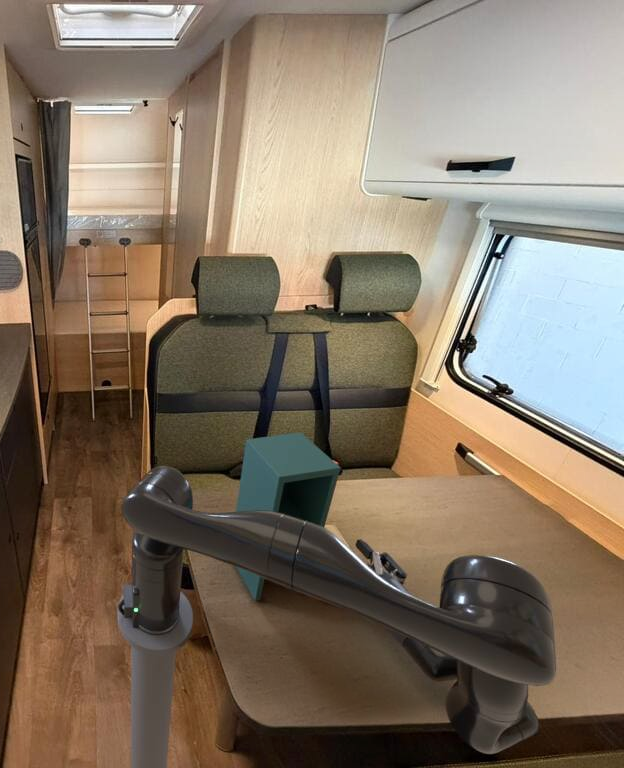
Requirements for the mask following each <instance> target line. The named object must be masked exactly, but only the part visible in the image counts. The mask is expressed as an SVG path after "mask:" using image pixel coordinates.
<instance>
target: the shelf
mask: <svg viewBox="0 0 624 768" xmlns="http://www.w3.org/2000/svg"><path fill="white" fill-rule="evenodd" d="M340 472H341V466H340V465H338V464H337V463H336V462H335V461H334V460H333V459H331V458H330V457H329V456H328V455H327V454H326V453H325V452H324V451H323V450H321V449H320V448H319V447H318V446H317V445H316V444H315V443H313V441H311V440H310V439H309V438H308V437H307V436H306V435H305V434H304V433H302V432H295V433H294V432H292V433H286V434H278V435H271V436H263V437H256V438H255V437H254V438H249V439H246V441H245V447H244V453H243V461H242V466H241V474H240V481H239V487H238V494H237V502H236V507H235V508H236V509H235V512H239V511H251V510H268V511H275V512H279V513H283V514H287V515H290V516H293V517H296V518H300V519H303V520H306V521H310V522H313V523H315V524H318V525H320V526H323V527H325V525H326V522H327V519H328V515H329V511H330V508H331V505H332V502H333V501H332V500H333V497H334V494H335V489H336V486H337V483H338V479H339V475H340ZM235 568H236V570H237V571H238V573H239V575H240V577H241V579H242V580H243V582H244V584H245V586H246V587H247V589H248V591H249V593H250V594H251V596H252V597H253V598H252V599H253V600H254V602H258V601H261V599H262V594H263V588H264V585H265V580H266V579H265V578H263V577H260V576H258V575H256V574H254V573H251V572H249V571H246V570H244V569H241V568H239V567H236V566H235Z"/></svg>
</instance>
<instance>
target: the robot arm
mask: <svg viewBox="0 0 624 768" xmlns="http://www.w3.org/2000/svg"><path fill="white" fill-rule="evenodd" d="M193 495H194V494H193V489H192V486H191V484H190V483H189V480H188V479H187V477H186V476H185V475H184V474H183V473H182V472H181V471H180V470H178V469H176V468H174V467H173V466H172V467H171V466H169V465H158V466H154V467H153V468H151V469H150V470H149V471H148V472H147V473H146V474H145V475H143V477H142V478H140V480H139V481H137V482H136V483H135V485H134V486H132V488H131V489H129V491H128V492H127V493H126V495H125V496H124V498H123V500H122V502H121V507H120V508H121V509H120V510H121V514H122V517H123V519H124V521H126V523H127V524H128V526H129V527H131V529H133V530H134V531H133V535H132V539H131V567H130V584H123V585H122V586H123V590H122V591H123V594H122V596H124V599H123V600H122V601H121V602H120V601H119V602H120V603H119V602H118V604H117V605H118V606H117V610H118V609H119V611H120V612H121V613H122V615H125V618H132V623H133V628H139V629H141V630H142V631H143V632H145V633H148V634H151V635H163V634H166V633H168V632H170V631H171V630H173V629H174V628H175V626H176V625H177V623H178V620H179V608H180V606H179V604H180V601H181V599H180V591H181V590H182V577H183V576H182V575H183V563H184V554H185V553H184V552H185V550H187V551H189V552H192V553H193V552H194V553H197V554H200V555H203V556H206V557H209V558H210V559H211V558H212V559H214V560H218V561H220V562H223V563H225V564H227V565H231V566H232V567H233V566H234V567H235V568H236V567H239V568H241V569H244V570H246V571H249V572H251V573H254V574H256V575H258V576H260V577H263V578H265V579H264V580H267V581H269V582H272V583H274V584H276V585H280V586H282V587H284V588H287V589H289V590H292V591H294V592H297V593H299V594H303V595H306V596H308V597H311V598H314V599H317V600H320V601H322V602H325V603H328V604H330V605H333V606H335V607H338V608H340V609H342V610H345V611H348V612H351V613H353V614H355V615H357V616H360V617H362V618H365V619H368V620H369V621H372V622H374V623H376V624H379V625H380V626H383V627H384V629H385V630H386V631H387V632H388V633H389V635H391V637H392V638H393V639H394V640H395V641H396V642H397V643H398V644H399V645H400V646H401V647H402V648H403V649H404V651H405V652H406V653H407V654H408V655H409V656H410V658H411V659H412V660H413V661H414V663H415V664H416V665H417V666H418V667H419V669H420V670H421V671H422V672H423V673H424V674H425V676H427V678H429V679H430V680H432V681H433V682H437V683H438V682H439V683H440V682H442V683H443V682H449V681H455V682H454V684H453V685H452V686H451V688H450V690H449V691H448V692H447V694H446V697H445V700H444V701H445V704H444V707H445V711H446V716H447V718H448V720H449V723H450V725H451V726H452V728H453V730H454V731H455V732H456V734H457V735H458V736H459V737H460V738H461V740H462V741H463V742H464V743H465V744H467V745H468V746H469V747H470V748H472V749H473V750H475V751H477V752H479V753H482V754H485V755H495V754H498V753H500V752H502V751H505V750H506V749H508V748H510V747H512V746H515V745H517V744H519V743H521V742H523V741H525V740H527V739H529V738H531V737H533V736H535V735H536V734H537V733H538V732H539V730H540V721H539V718H538V716H537V713H536V711H535V710H534V708H533V706H532V705H531V704H530V702H529V700H528V698H529V686H533V687H539V686H540V687H542V686H546V685H549V684H551V683H553V682H554V680H555V678H556V676H557V675H556V674H557V655H556V654H557V653H556V639H555V626H554V618H553V617H554V616H553V610H552V609H553V608H552V602H551V599H550V596H549V594H548V592H547V590H546V588H545V586H544V585H543V584H542V582H541V581H540V580H539V578H538V577H536V576H535V575H534V574H533V573H531V572H530V571H529V570H528V569H526V568H524V567H522V566H520V565H519V564H516V563H514V562H512V561H509V560H506V559H504V558H499V557H495V556H491V555H485V554H484V555H483V554H468V555H466V554H465V555H462V556H458V557H456V558H454V559H452V560H451V561H450V562H449V563H448V564H446V566H445V568H444V570H443V573H442V576H441V583H440V593H439V594H440V595H439V596H440V597H439V606H437V605H434V604H432V603H429V602H427V601H424V600H423V599H420V598H418V597H416V596H415V595H413V594H411V593H410V592H409V590H408V589H406V587H405V586H404V584H405V581H406V579H407V576H408V574H407V572H406V571H405V570H404V569H403V568H402V567H401V566H400V565H399V564H398V563H397V562H396V561H395V559H394V558H393V557H392V556H391V555H390V554H389V553H388V552H385V551H384V552H382V553H379V552H378V551H375V550H374V549H373V548H372V547H371V546H370V545H369V544H368V543H367V542H366V541H364V540H363V539H361V538H360V539H357V540H356V542H355V548H356V549H357V550H358V551H359V552H360V553H361V554H362V555H363V557H364V558H365V559H366V560H369V563H366V562H365V560H363V559H362V558H361V557H359V555H357V553H356V552H354V551H353V550H352V548H351V547H350V546H349V545H348V546H349V547H350V548H351V549H350V548H349V547H348V546H347V545H346V544H345V543H344V542H342V541H341V540H340V539H339V538H338V537H337V536H335V535H334V534H333V533H332V532H330V531H329V530H327V529H326V528H324V527H323V526H320V525H318V524H315V523H313V522H310V521H306V520H303V519H300V518H296V517H293V516H290V515H287V514H283V513H279V512H275V511H268V510H251V511H239V512H236V511H230V512H229V511H228V512H207V511H200V510H195V509H194V496H193ZM382 567H383V568H384V569H385V570H386V571H385V570H383V568H382ZM181 592H182V591H181ZM123 605H124V609H123V608H122V606H123Z"/></svg>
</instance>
